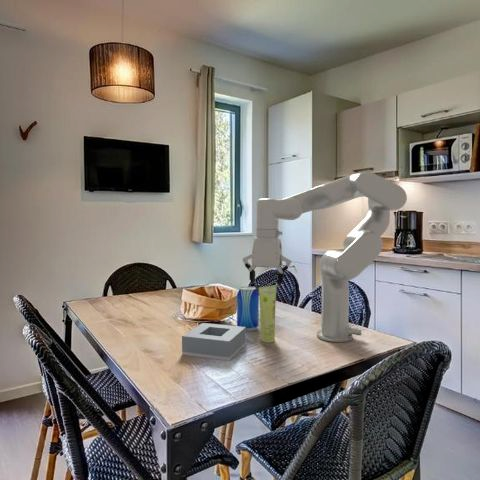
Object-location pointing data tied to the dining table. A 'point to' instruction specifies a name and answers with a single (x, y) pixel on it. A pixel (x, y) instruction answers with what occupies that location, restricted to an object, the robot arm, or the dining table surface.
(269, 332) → the tube
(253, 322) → the beer can
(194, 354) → the well
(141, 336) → the dining table surface
